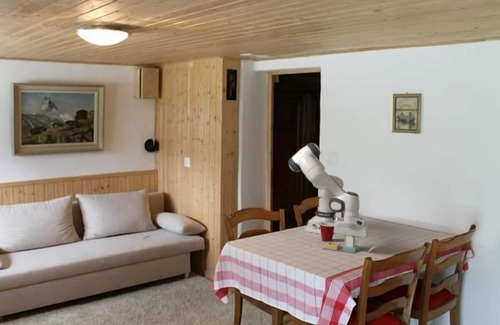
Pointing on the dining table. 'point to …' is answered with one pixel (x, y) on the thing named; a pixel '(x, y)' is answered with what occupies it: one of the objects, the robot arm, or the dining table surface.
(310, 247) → the dining table surface
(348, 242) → the plug
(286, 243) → the dining table surface
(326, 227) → the plastic cup
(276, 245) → the dining table surface
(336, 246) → the panel
